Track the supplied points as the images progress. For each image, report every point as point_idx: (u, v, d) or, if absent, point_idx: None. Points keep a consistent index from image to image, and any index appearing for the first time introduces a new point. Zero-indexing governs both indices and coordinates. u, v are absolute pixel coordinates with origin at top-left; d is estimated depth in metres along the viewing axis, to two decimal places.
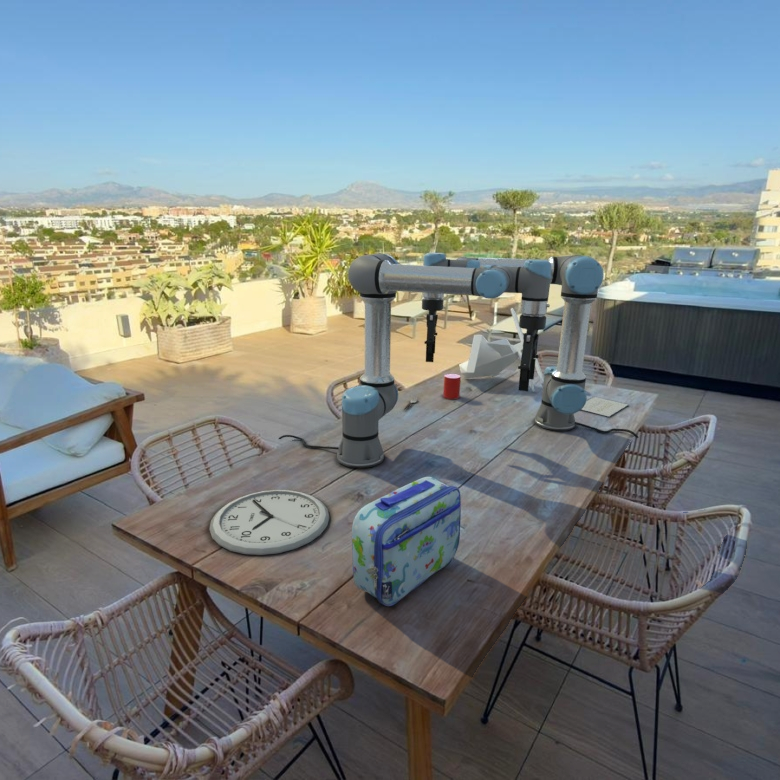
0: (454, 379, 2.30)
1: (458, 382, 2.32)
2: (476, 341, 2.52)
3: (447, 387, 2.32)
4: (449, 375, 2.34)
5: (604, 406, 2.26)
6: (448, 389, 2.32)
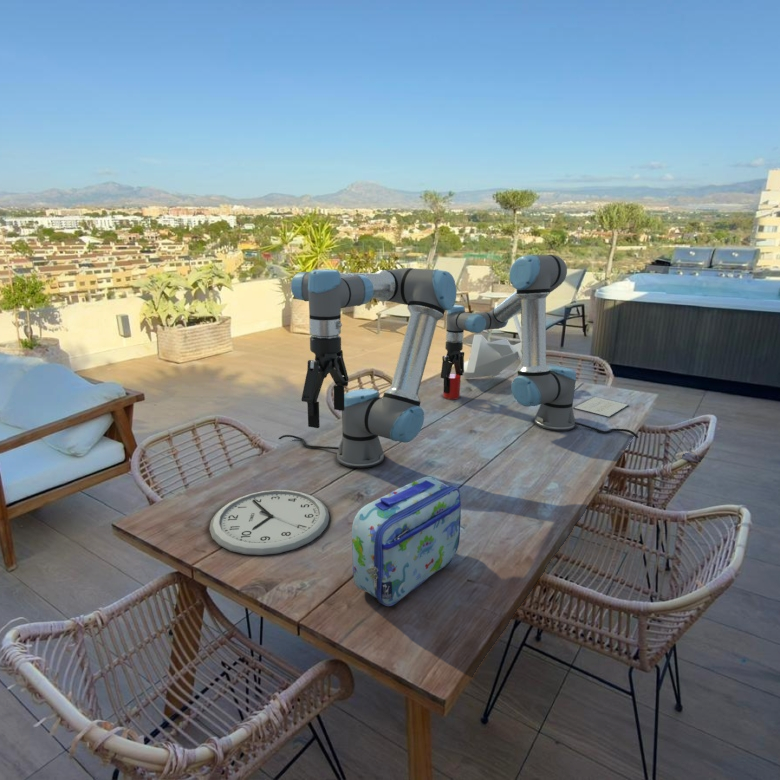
0: (454, 379, 2.30)
1: (458, 382, 2.32)
2: (476, 341, 2.52)
3: None
4: None
5: (604, 406, 2.26)
6: None
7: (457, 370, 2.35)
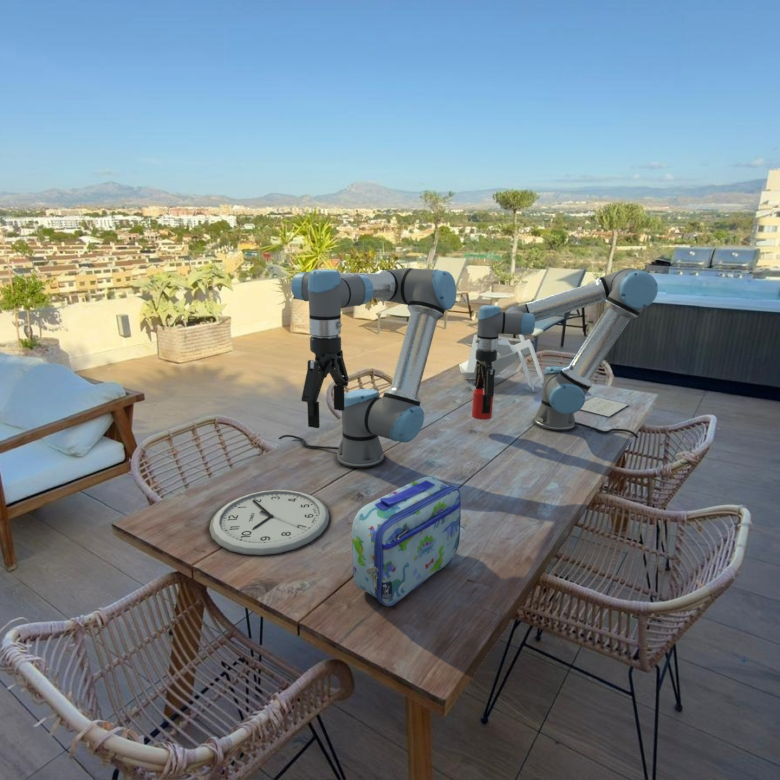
0: None
1: None
2: None
3: None
4: (479, 391, 1.92)
5: (604, 406, 2.26)
6: None
7: (481, 383, 1.95)
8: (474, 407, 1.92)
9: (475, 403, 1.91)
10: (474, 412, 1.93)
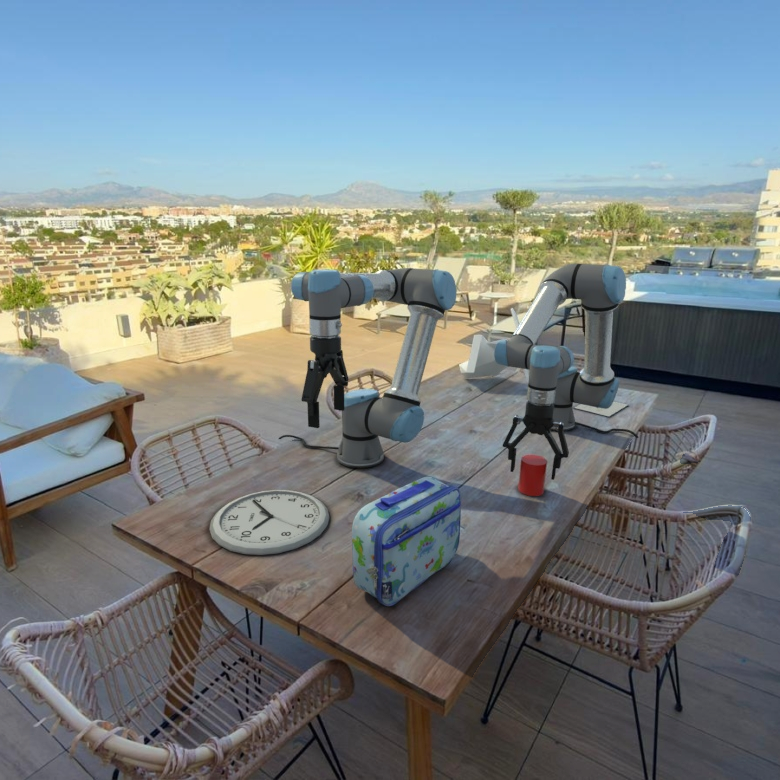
0: None
1: None
2: (476, 341, 2.52)
3: (545, 476, 1.50)
4: (533, 461, 1.49)
5: None
6: None
7: None
8: (534, 483, 1.48)
9: (536, 478, 1.48)
10: (534, 489, 1.49)
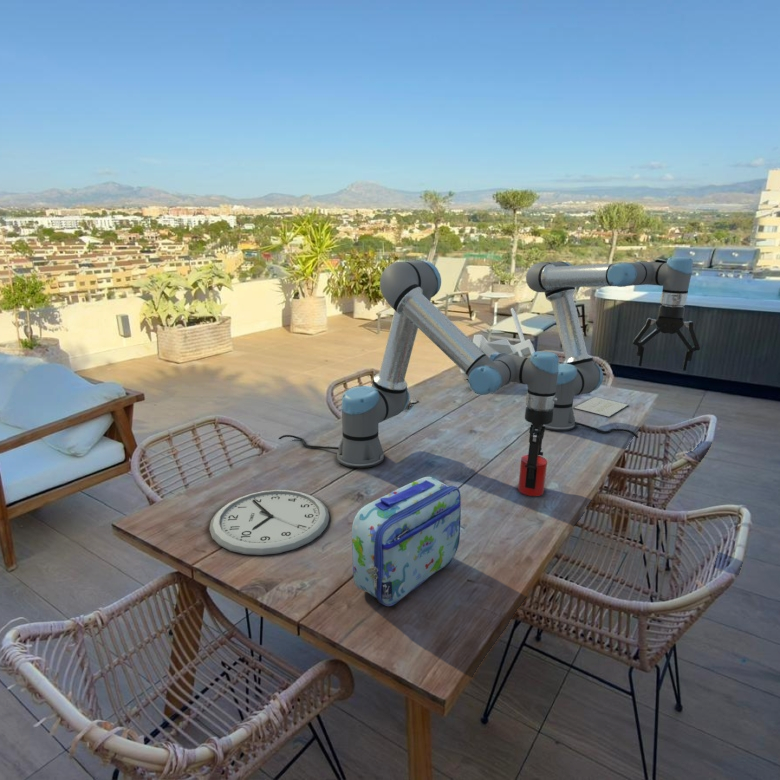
0: None
1: None
2: (476, 341, 2.52)
3: (545, 476, 1.50)
4: None
5: (604, 406, 2.26)
6: None
7: None
8: None
9: (536, 478, 1.48)
10: (534, 489, 1.49)
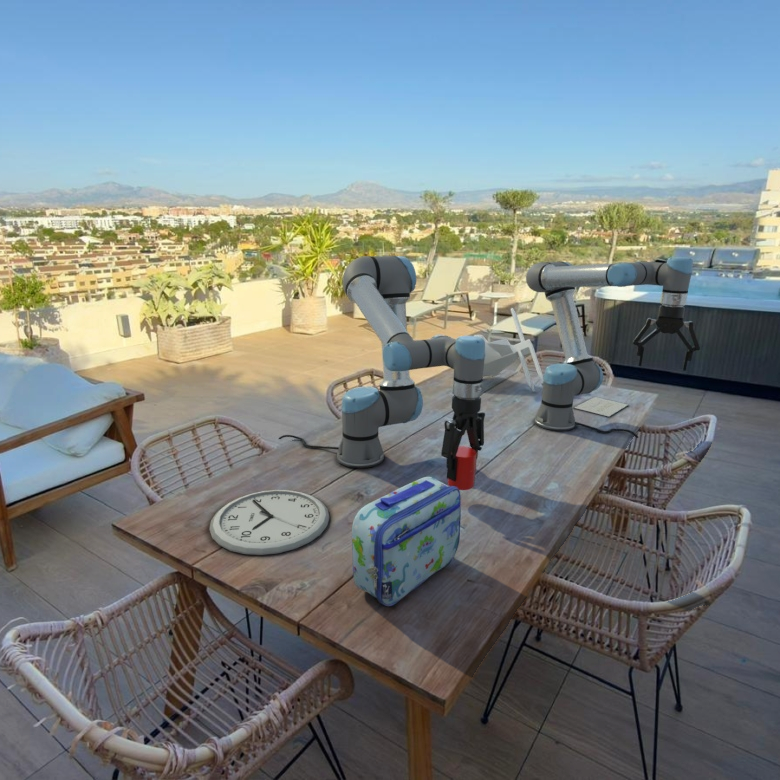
0: None
1: None
2: None
3: (472, 471, 1.40)
4: (459, 453, 1.40)
5: (604, 406, 2.26)
6: (473, 473, 1.41)
7: None
8: (456, 475, 1.40)
9: (457, 470, 1.40)
10: (456, 482, 1.41)
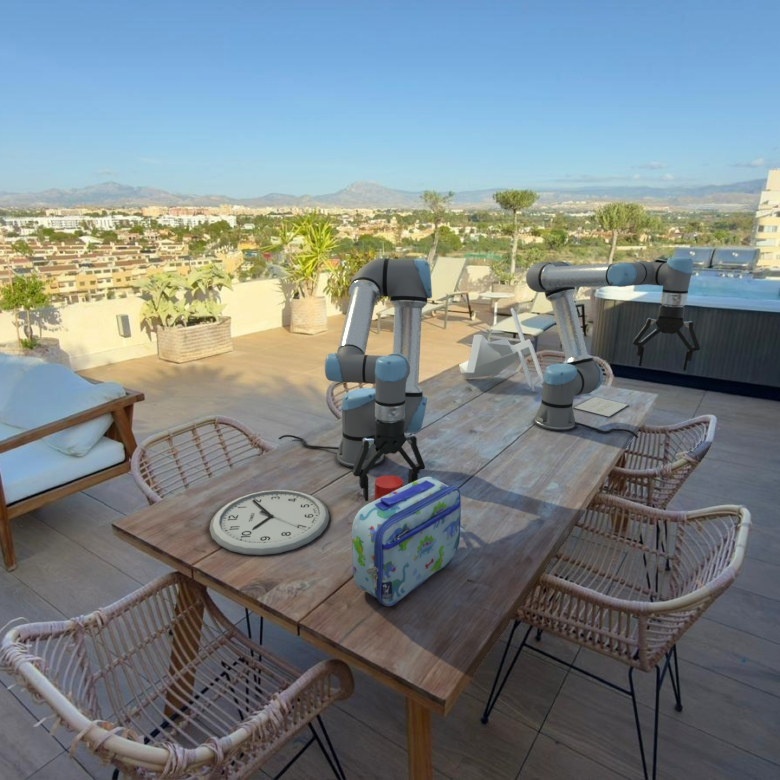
0: (401, 485, 1.34)
1: None
2: (476, 341, 2.52)
3: None
4: (383, 482, 1.35)
5: (604, 406, 2.26)
6: None
7: None
8: None
9: None
10: None
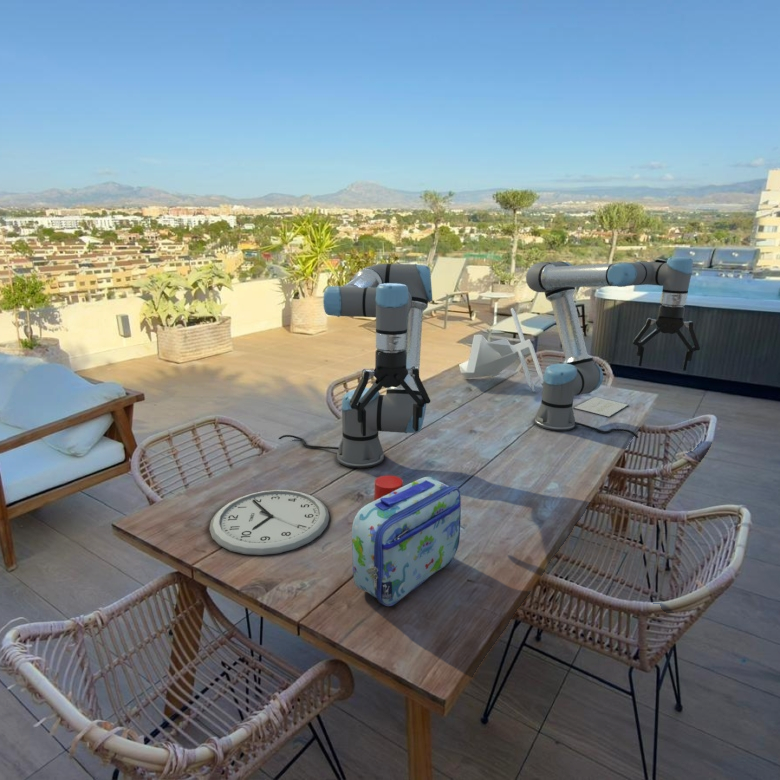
0: (401, 485, 1.34)
1: None
2: (476, 341, 2.52)
3: None
4: (383, 482, 1.35)
5: (604, 406, 2.26)
6: None
7: None
8: None
9: None
10: None
